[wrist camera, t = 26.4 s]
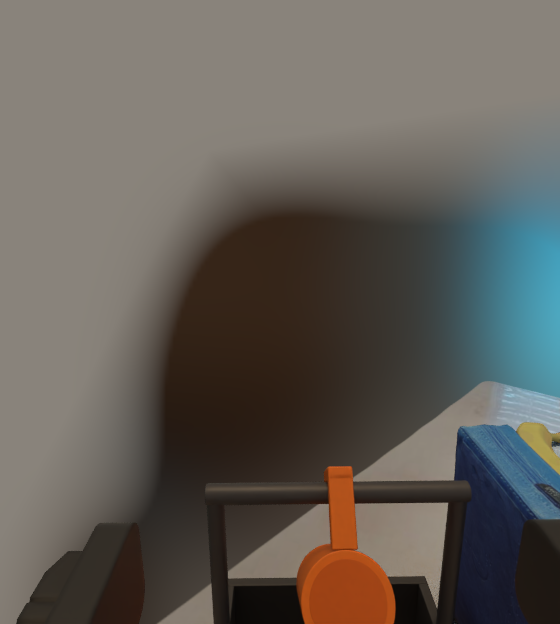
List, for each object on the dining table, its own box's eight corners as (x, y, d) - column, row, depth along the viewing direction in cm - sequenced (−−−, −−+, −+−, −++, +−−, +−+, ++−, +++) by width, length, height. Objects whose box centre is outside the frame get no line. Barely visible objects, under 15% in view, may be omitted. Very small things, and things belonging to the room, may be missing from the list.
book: (586, 774, 32) (644, 531, 27) (511, 778, 32) (554, 534, 26) (488, 595, 46) (512, 412, 40) (435, 598, 46) (453, 414, 40)
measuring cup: (372, 627, 34) (401, 660, 26) (297, 628, 34) (302, 661, 26) (360, 478, 39) (382, 466, 30) (294, 478, 39) (297, 466, 30)
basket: (207, 791, 31) (190, 550, 26) (226, 631, 42) (216, 440, 37) (474, 788, 31) (509, 546, 26) (422, 629, 42) (439, 437, 37)
